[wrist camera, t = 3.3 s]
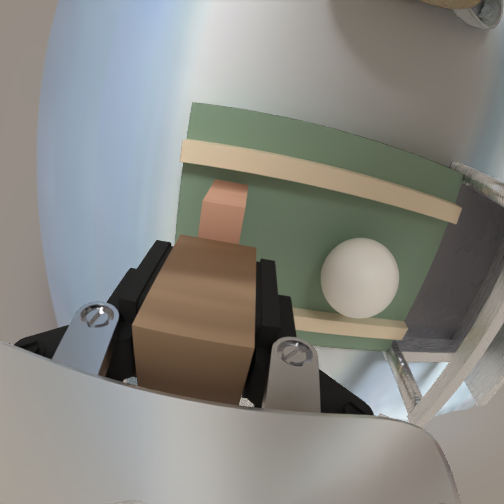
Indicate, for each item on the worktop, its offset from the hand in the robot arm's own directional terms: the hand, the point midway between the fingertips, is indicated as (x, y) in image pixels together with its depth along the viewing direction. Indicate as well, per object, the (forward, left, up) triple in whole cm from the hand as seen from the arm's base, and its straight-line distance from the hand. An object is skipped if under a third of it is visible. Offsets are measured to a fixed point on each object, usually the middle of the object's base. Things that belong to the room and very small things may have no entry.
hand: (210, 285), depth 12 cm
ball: (0, +7, -3) cm, 8 cm away
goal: (0, +16, -6) cm, 17 cm away
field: (0, +5, -6) cm, 8 cm away
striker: (0, 0, -4) cm, 4 cm away
